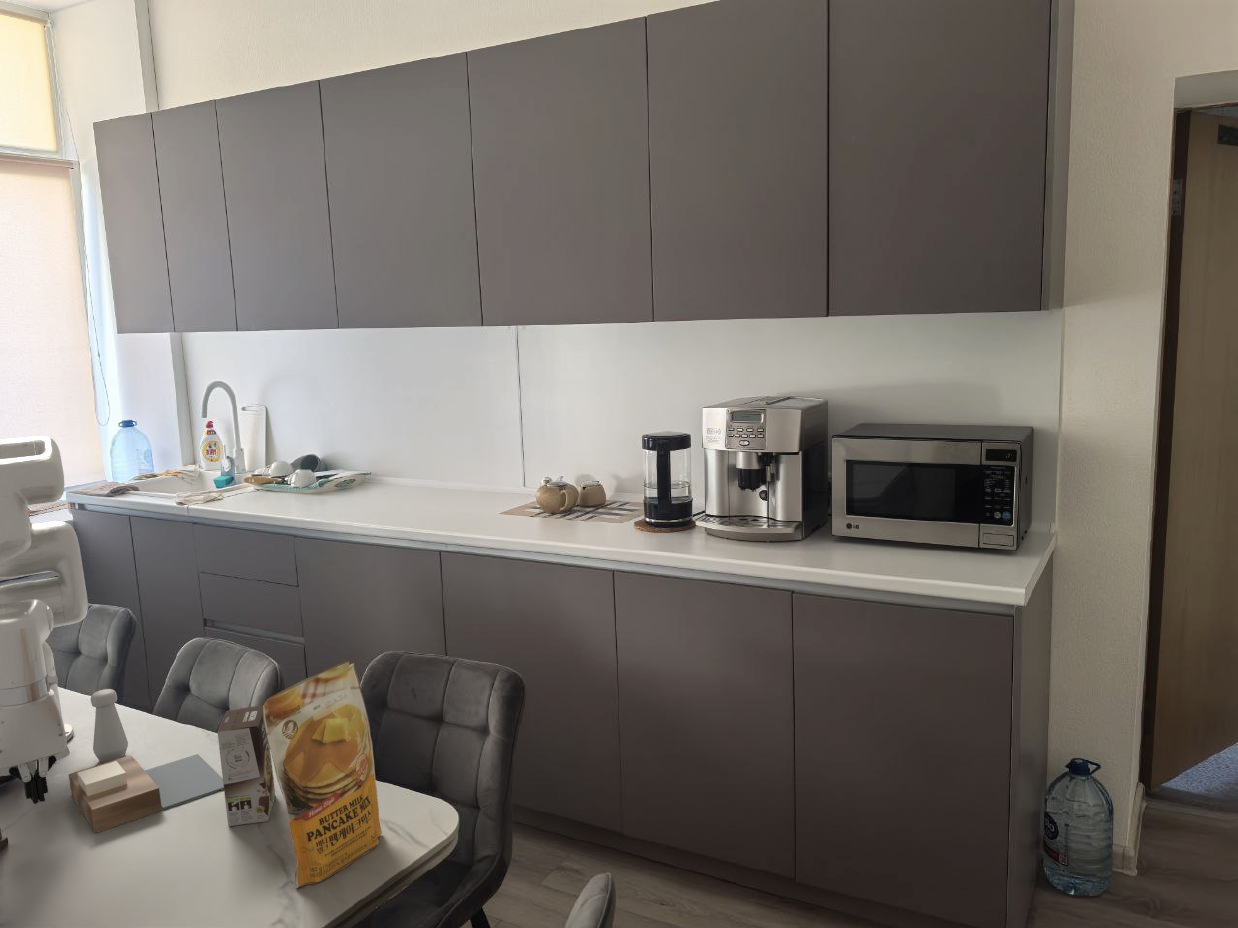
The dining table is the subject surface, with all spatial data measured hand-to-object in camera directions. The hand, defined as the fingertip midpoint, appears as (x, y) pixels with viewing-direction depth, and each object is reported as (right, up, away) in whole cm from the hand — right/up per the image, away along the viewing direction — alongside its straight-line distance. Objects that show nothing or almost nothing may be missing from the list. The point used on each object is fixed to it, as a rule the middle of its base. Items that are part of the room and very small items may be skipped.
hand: (37, 799), depth 160 cm
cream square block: (+7, +2, +6) cm, 10 cm away
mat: (+17, -2, +14) cm, 22 cm away
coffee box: (+33, -3, +3) cm, 34 cm away
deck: (+9, -3, +8) cm, 12 cm away
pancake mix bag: (+51, -5, -13) cm, 53 cm away
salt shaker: (-1, -1, +25) cm, 25 cm away
